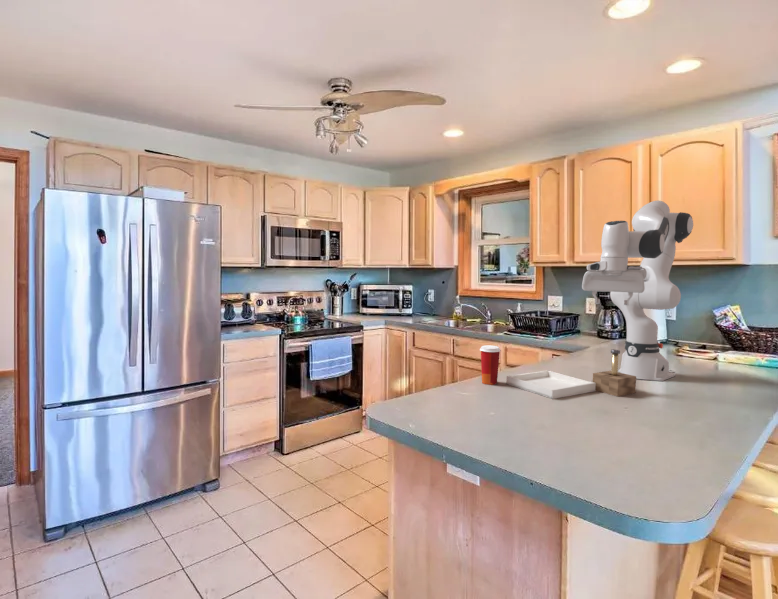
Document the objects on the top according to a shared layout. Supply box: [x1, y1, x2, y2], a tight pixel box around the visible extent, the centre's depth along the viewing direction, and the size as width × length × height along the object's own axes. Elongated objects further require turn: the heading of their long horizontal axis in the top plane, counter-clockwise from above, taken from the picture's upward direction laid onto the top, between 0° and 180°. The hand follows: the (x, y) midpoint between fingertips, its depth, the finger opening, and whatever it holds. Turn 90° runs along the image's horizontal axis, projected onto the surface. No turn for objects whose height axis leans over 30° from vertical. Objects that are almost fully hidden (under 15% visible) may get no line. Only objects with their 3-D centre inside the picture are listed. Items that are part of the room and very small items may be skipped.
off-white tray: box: [505, 370, 596, 400], centre depth 167 cm, size 22×22×3 cm
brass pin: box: [610, 348, 621, 376], centre depth 163 cm, size 3×3×15 cm
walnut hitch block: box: [592, 370, 637, 397], centre depth 163 cm, size 10×10×6 cm
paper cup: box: [479, 344, 501, 386], centre depth 172 cm, size 8×8×14 cm
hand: (611, 304), depth 163 cm, fingers open, 8 cm apart
